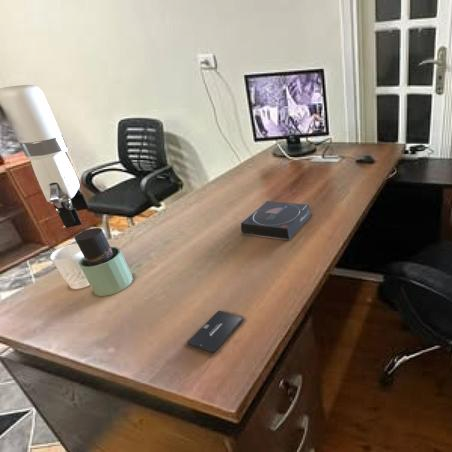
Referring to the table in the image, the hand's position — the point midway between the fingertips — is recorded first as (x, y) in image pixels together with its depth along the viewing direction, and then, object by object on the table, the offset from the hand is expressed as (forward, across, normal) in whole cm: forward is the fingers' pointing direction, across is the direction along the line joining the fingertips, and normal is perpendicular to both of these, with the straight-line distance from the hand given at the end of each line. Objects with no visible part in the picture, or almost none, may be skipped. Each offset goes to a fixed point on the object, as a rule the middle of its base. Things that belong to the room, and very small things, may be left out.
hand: (78, 217), depth 84 cm
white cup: (+21, -6, -7) cm, 23 cm away
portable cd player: (+20, -8, +49) cm, 53 cm away
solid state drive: (+20, +32, +24) cm, 45 cm away
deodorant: (+20, 0, +1) cm, 20 cm away
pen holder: (+20, 0, +1) cm, 21 cm away
